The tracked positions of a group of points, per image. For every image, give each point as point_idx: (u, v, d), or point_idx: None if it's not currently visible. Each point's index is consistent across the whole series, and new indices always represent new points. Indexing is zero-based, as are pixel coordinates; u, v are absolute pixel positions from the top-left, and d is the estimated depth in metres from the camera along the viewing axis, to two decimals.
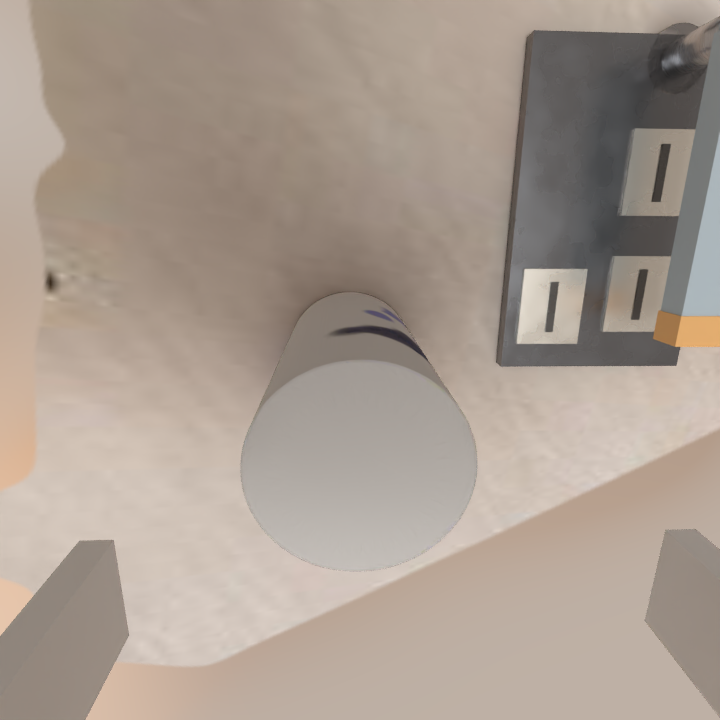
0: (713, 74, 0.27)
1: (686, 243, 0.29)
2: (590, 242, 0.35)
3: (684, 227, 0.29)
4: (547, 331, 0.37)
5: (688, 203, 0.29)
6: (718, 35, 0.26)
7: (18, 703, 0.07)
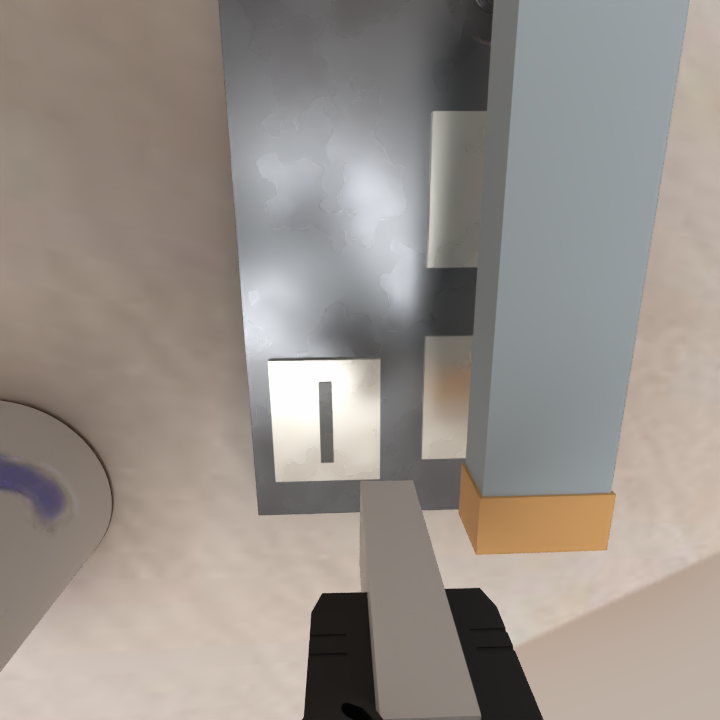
0: None
1: (484, 347, 0.14)
2: (381, 313, 0.20)
3: (481, 312, 0.14)
4: (325, 461, 0.22)
5: (483, 263, 0.13)
6: None
7: None
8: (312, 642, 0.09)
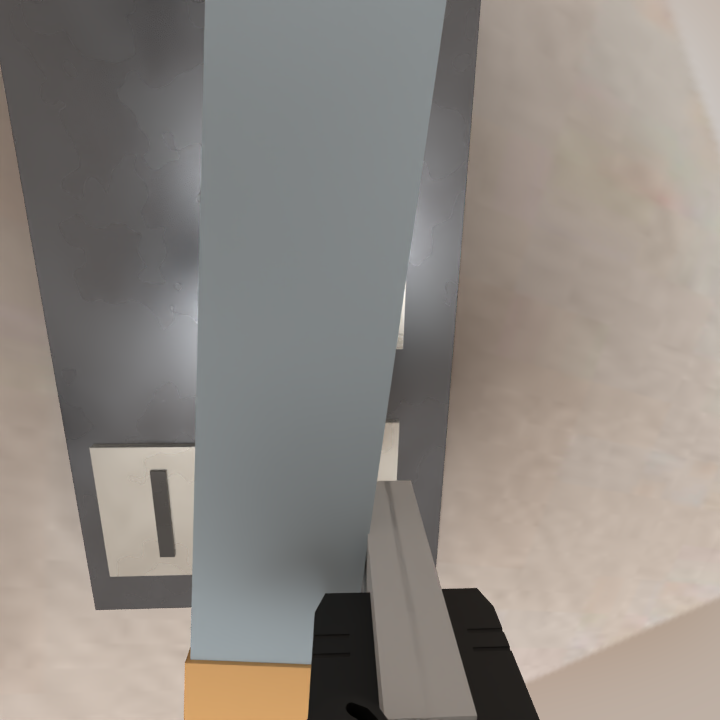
0: None
1: None
2: None
3: None
4: (165, 555, 0.19)
5: None
6: None
7: None
8: (315, 642, 0.09)
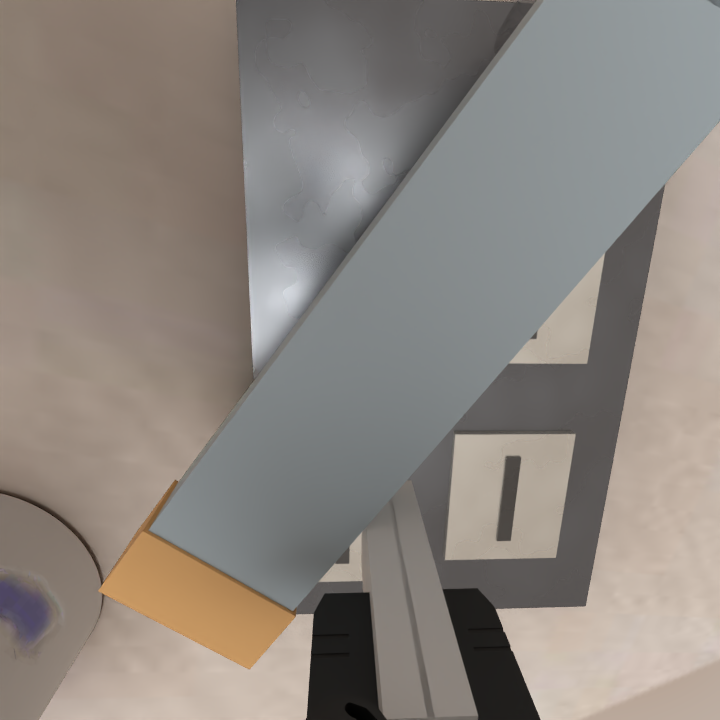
0: None
1: (266, 368, 0.10)
2: None
3: (292, 331, 0.11)
4: (339, 562, 0.20)
5: (329, 281, 0.10)
6: None
7: None
8: (315, 642, 0.09)
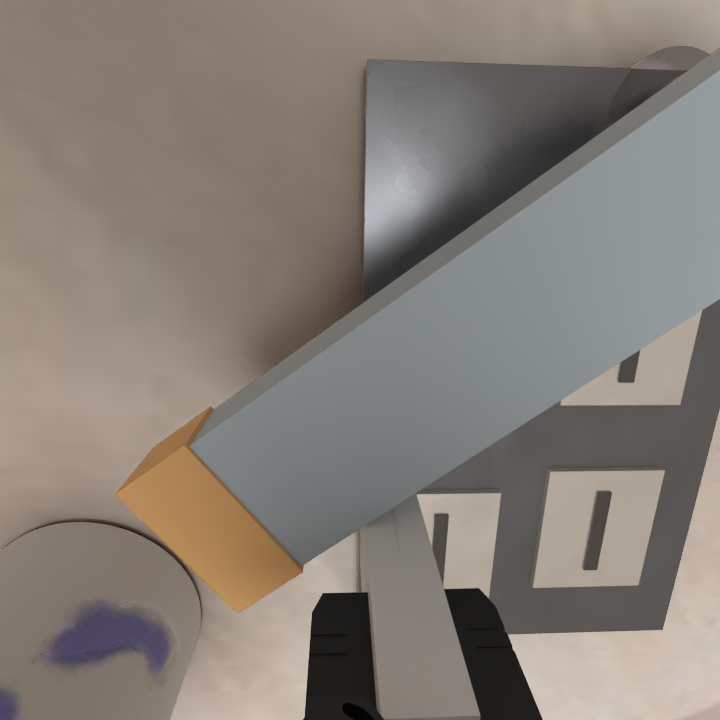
0: None
1: (353, 321, 0.10)
2: (505, 447, 0.19)
3: (386, 292, 0.11)
4: None
5: (438, 254, 0.10)
6: None
7: None
8: (313, 642, 0.09)
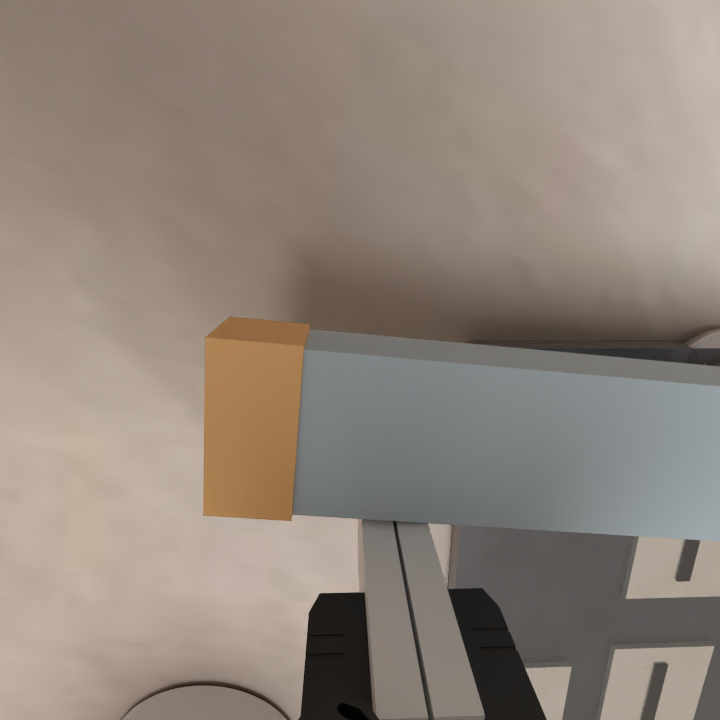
0: None
1: (497, 357, 0.11)
2: (576, 628, 0.22)
3: (530, 355, 0.11)
4: None
5: (585, 359, 0.11)
6: None
7: None
8: (309, 642, 0.09)
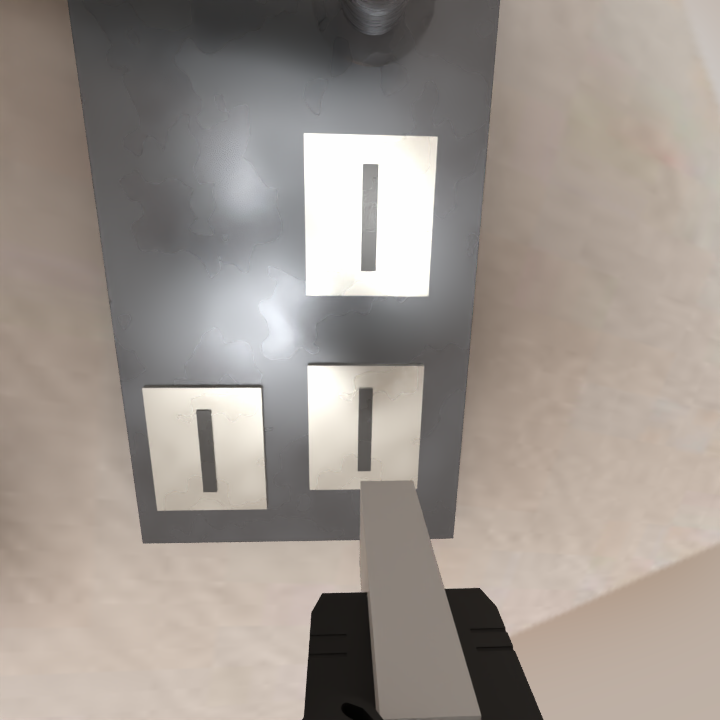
0: None
1: None
2: (262, 341, 0.19)
3: None
4: (208, 490, 0.21)
5: None
6: None
7: None
8: (312, 642, 0.09)
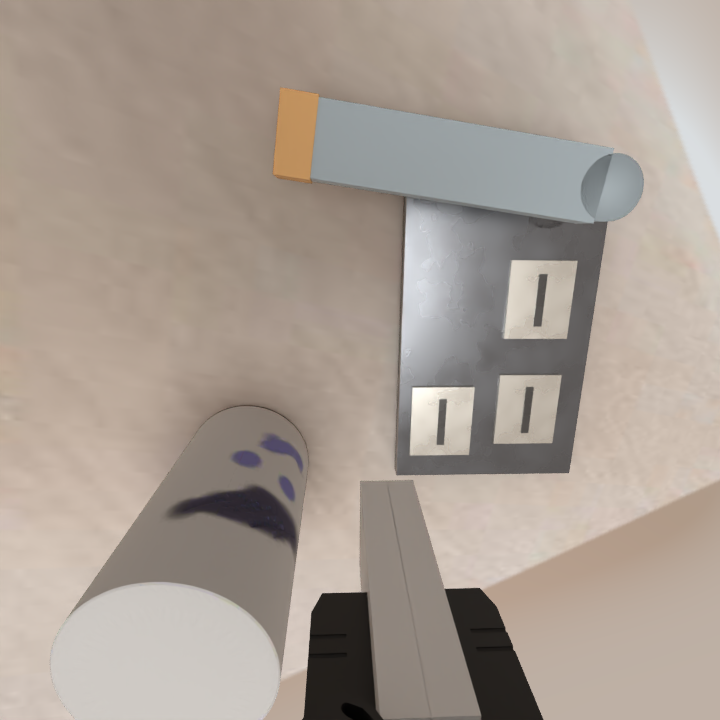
0: None
1: None
2: (476, 362, 0.37)
3: None
4: (439, 444, 0.38)
5: None
6: None
7: None
8: (312, 642, 0.09)
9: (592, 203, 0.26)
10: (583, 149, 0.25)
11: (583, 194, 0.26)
